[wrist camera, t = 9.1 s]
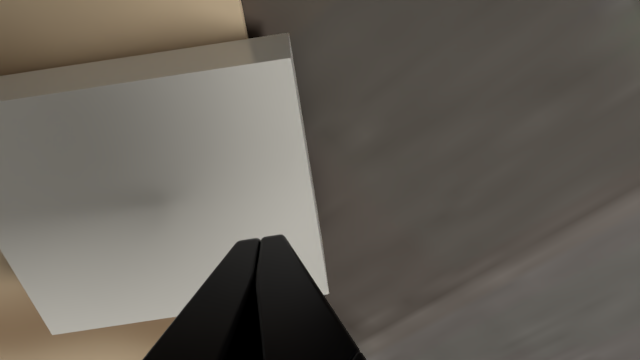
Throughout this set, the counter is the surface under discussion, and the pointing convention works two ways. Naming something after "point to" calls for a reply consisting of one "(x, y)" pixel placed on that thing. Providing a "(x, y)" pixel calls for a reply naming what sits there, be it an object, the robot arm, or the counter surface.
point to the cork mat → (77, 48)
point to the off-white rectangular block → (150, 177)
